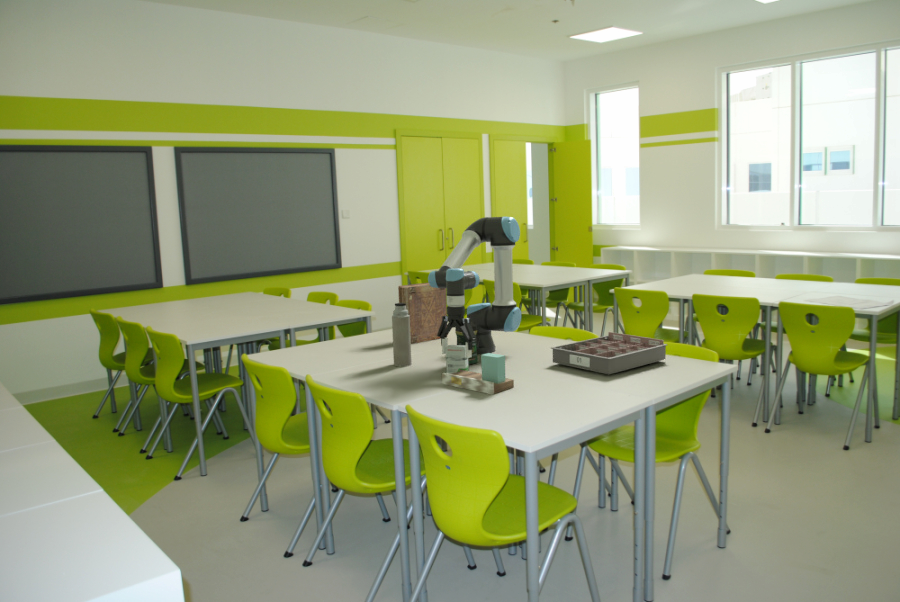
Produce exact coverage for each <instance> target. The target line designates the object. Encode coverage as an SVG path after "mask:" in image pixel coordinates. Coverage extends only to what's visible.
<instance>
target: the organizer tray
mask: <svg viewBox="0 0 900 602" xmlns="http://www.w3.org/2000/svg"><path fill="white" fill-rule="evenodd" d="M664 341H665V340H664V339H658V338H651V337H645V336H638V335H633V334H632V335H631V334H624V333H618V332H611V331H608V335H604V336H599V337H594V338H590V339H586V340H580V341H576V342H571V343H567V344H561V345H557V346H552V347H550V349H552V363H554V364H558V365H562V366H567V367H573V368H575V369H583V370H585V371H587V370H588V371H592V372H596V373H601V374H605V375H612V374H616V373H620V372H623V371H627V370H632V369H634V368H638V367H641V366H646V365H648V364H652V363H653V364H654V363H656V362H660V361H661V362H662V361H664V359H665V360H666V351H667V350H666V349H667V348H666V346H668V344H667V343H664Z"/></svg>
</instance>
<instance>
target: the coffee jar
mask: <svg viewBox="0 0 900 602" xmlns="http://www.w3.org/2000/svg"><path fill="white" fill-rule="evenodd" d="M470 323H471V326H472V329H473V331H474V334H475V336H476V334H477V325H476V323H473V322H470ZM454 332H455V335H456V345H466V342H467V340H466V339H465V337H464V335H463V334H462V332H461V330H459V329H458V328H455V331H454ZM472 344H473V349H472V357H470V358H468V366H469V365H472V364H473V365H475V364H477V363H478V362H479V360H478V359H479V358H478V354H477V349H476V341H473V343H472Z"/></svg>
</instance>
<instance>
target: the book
mask: <svg viewBox="0 0 900 602" xmlns="http://www.w3.org/2000/svg"><path fill="white" fill-rule="evenodd" d="M398 303H406V305H405V306H406V310H408V315H410V337H411V345H413V344H418V343H419V344H420V343H424V342H429V341H433V340H434V341H435V340H439V339H440V340H441V338H440V337H438V336H437V334H438V331H439V328H440V325H441V323H442V317H443V316H448V315H447V289H446V288H433V287H431V286H430V285H429V282H423V283H421V282H420V283H413V284H404V285H398ZM446 327H447V325H446Z"/></svg>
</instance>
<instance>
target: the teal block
mask: <svg viewBox="0 0 900 602" xmlns="http://www.w3.org/2000/svg"><path fill="white" fill-rule="evenodd" d="M480 357H481V358H480V359H481V360H480V362H481V363H480V364H481V365H480V366H481V374H482V380H484V381H489V382H494V383H497V384H498V383H502V382H505V378H506V355H505V354H504V355H503V354H498V353H493V352H490V353H482V354H481V355H480Z"/></svg>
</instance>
